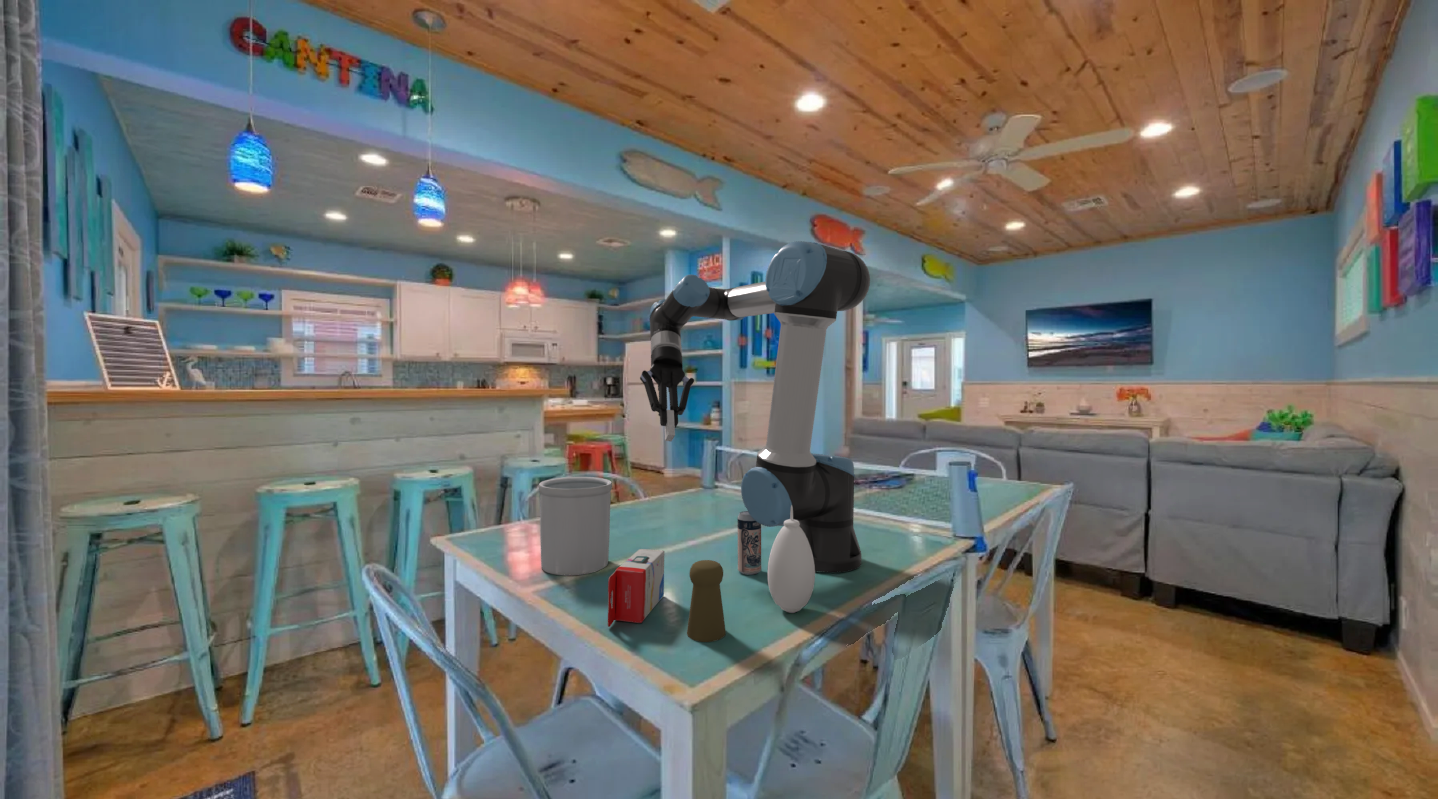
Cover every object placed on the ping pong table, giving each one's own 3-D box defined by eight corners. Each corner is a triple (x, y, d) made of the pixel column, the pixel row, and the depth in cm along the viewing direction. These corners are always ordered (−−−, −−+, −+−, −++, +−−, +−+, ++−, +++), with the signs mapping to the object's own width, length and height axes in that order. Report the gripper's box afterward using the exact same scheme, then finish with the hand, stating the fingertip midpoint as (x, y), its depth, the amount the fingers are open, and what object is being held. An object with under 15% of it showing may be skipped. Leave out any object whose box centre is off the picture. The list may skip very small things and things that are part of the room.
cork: (686, 624, 88) (686, 556, 88) (723, 623, 89) (724, 555, 88) (687, 642, 82) (687, 569, 82) (727, 641, 83) (728, 568, 82)
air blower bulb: (759, 613, 92) (760, 506, 92) (779, 598, 99) (780, 498, 98) (803, 624, 88) (804, 512, 88) (821, 607, 95) (822, 503, 94)
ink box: (664, 596, 100) (635, 633, 85) (638, 593, 101) (605, 629, 86) (665, 549, 99) (636, 579, 85) (639, 547, 100) (606, 576, 86)
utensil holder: (587, 549, 127) (586, 473, 126) (626, 564, 117) (625, 482, 116) (526, 564, 116) (525, 481, 116) (563, 583, 106) (562, 492, 105)
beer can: (745, 577, 109) (744, 516, 109) (733, 570, 113) (733, 512, 113) (765, 573, 111) (765, 514, 111) (753, 566, 116) (753, 509, 115)
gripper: (687, 367, 139) (692, 449, 126) (636, 359, 135) (636, 443, 122) (696, 349, 134) (703, 432, 120) (644, 340, 129) (645, 425, 116)
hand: (669, 438), depth 121 cm, fingers closed
